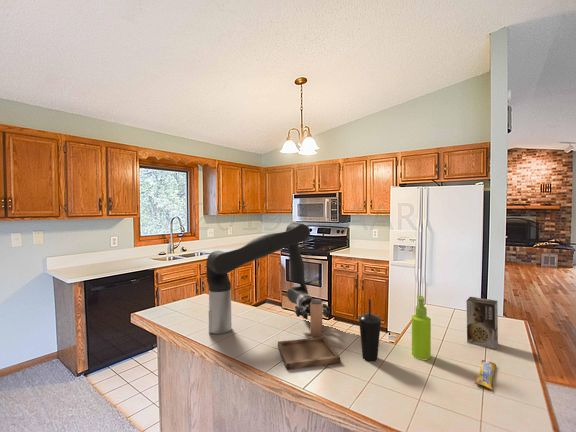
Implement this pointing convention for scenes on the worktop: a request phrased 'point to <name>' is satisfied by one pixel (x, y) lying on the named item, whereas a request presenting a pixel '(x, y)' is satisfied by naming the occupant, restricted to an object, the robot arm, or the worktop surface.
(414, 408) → the worktop surface
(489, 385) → the candy bar
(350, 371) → the worktop surface
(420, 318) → the soap dispenser
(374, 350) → the drinking cup
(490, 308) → the coffee box
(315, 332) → the tan cylinder
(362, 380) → the worktop surface
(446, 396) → the worktop surface
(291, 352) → the tray
